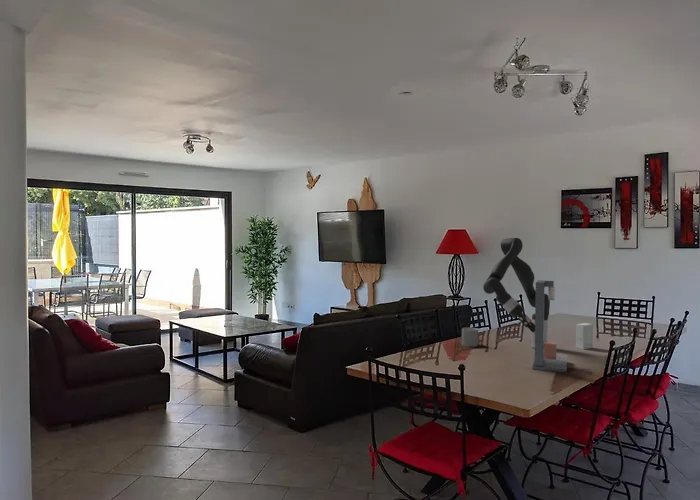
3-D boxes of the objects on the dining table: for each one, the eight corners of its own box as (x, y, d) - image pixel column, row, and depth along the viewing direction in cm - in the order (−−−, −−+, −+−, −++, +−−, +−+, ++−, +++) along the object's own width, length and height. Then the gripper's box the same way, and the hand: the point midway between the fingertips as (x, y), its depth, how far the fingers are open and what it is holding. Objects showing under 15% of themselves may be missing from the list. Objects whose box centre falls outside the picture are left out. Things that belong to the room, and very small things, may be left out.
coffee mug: (474, 347, 318) (474, 330, 317) (459, 345, 323) (459, 329, 323) (482, 343, 328) (482, 327, 328) (467, 341, 334) (467, 326, 334)
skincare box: (584, 346, 321) (585, 322, 321) (593, 348, 316) (593, 324, 315) (575, 347, 317) (575, 323, 317) (583, 349, 312) (583, 325, 312)
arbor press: (535, 359, 286) (536, 279, 285) (567, 362, 280) (568, 280, 279) (532, 369, 264) (533, 282, 263) (566, 372, 258) (567, 283, 257)
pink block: (544, 354, 279) (544, 341, 279) (556, 355, 277) (556, 342, 277) (543, 356, 274) (544, 343, 274) (556, 357, 272) (556, 344, 272)
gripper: (517, 304, 275) (539, 327, 271) (519, 301, 288) (541, 323, 284) (506, 314, 277) (529, 337, 273) (509, 310, 290) (531, 332, 286)
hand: (535, 330), depth 278 cm, fingers open, 8 cm apart
